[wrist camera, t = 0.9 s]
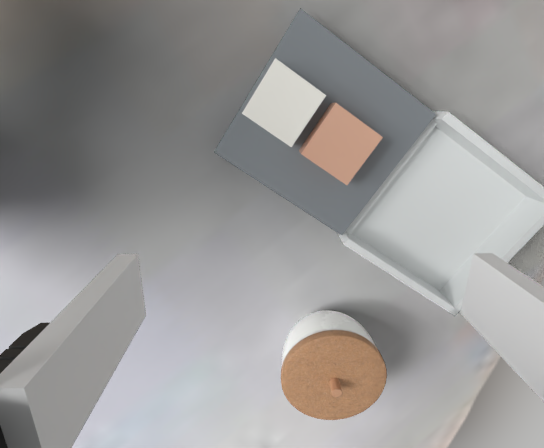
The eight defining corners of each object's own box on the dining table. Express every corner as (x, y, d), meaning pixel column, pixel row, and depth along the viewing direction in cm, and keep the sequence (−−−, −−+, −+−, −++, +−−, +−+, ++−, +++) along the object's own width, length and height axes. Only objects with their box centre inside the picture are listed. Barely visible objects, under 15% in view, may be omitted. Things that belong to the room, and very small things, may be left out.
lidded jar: (277, 296, 40) (279, 350, 31) (368, 292, 40) (396, 344, 31) (281, 370, 44) (283, 437, 35) (365, 366, 44) (389, 432, 35)
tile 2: (244, 112, 31) (241, 113, 28) (274, 62, 29) (275, 58, 27) (289, 144, 32) (291, 147, 29) (321, 96, 30) (326, 95, 28)
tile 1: (298, 150, 32) (300, 154, 29) (330, 103, 31) (336, 102, 28) (341, 179, 33) (346, 185, 30) (374, 135, 31) (383, 137, 29)
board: (218, 148, 35) (213, 152, 32) (297, 17, 31) (300, 8, 28) (336, 225, 37) (341, 235, 35) (422, 113, 34) (436, 114, 31)
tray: (336, 230, 38) (343, 244, 34) (428, 111, 34) (448, 111, 30) (437, 296, 40) (455, 316, 37) (534, 193, 36) (564, 203, 33)
